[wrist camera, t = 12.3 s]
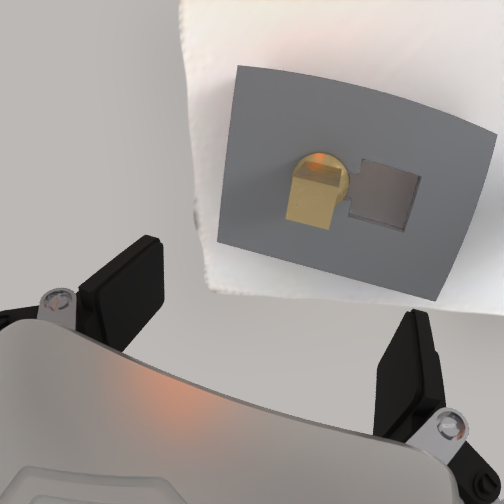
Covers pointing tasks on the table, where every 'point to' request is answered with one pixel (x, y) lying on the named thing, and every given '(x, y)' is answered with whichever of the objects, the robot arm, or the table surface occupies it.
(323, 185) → the brass peg
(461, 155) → the keyhole board
